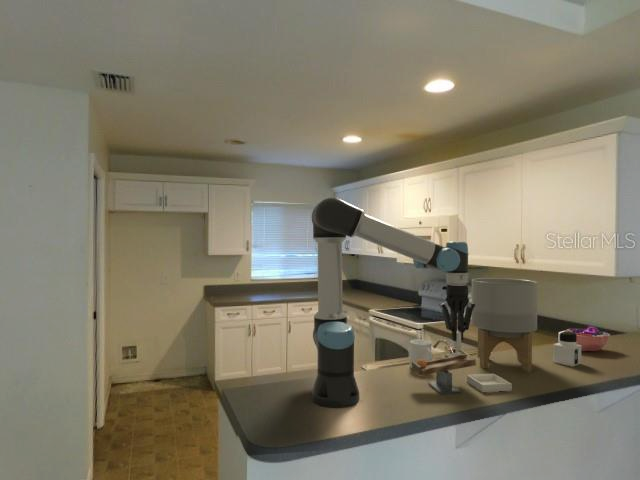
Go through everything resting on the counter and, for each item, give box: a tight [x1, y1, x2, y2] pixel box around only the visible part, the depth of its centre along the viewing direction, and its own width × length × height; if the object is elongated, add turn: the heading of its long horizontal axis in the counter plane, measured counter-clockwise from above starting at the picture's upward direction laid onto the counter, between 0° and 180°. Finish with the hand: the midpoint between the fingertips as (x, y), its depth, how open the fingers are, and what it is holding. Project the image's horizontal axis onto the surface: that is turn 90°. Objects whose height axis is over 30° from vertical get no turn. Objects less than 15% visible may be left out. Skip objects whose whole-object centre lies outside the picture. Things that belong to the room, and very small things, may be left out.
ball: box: [417, 359, 427, 369], centre depth 143 cm, size 3×3×3 cm
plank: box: [411, 351, 477, 377], centre depth 147 cm, size 20×13×3 cm, turn 99°
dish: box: [466, 373, 513, 394], centre depth 147 cm, size 11×11×3 cm
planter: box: [470, 277, 538, 373], centre depth 175 cm, size 25×25×34 cm
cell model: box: [563, 325, 611, 352], centre depth 197 cm, size 17×20×11 cm
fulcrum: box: [427, 370, 461, 395], centre depth 144 cm, size 7×10×7 cm
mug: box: [409, 339, 434, 369], centre depth 166 cm, size 12×8×10 cm
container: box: [552, 330, 582, 367], centre depth 176 cm, size 8×8×13 cm
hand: (457, 349), depth 152 cm, fingers closed
